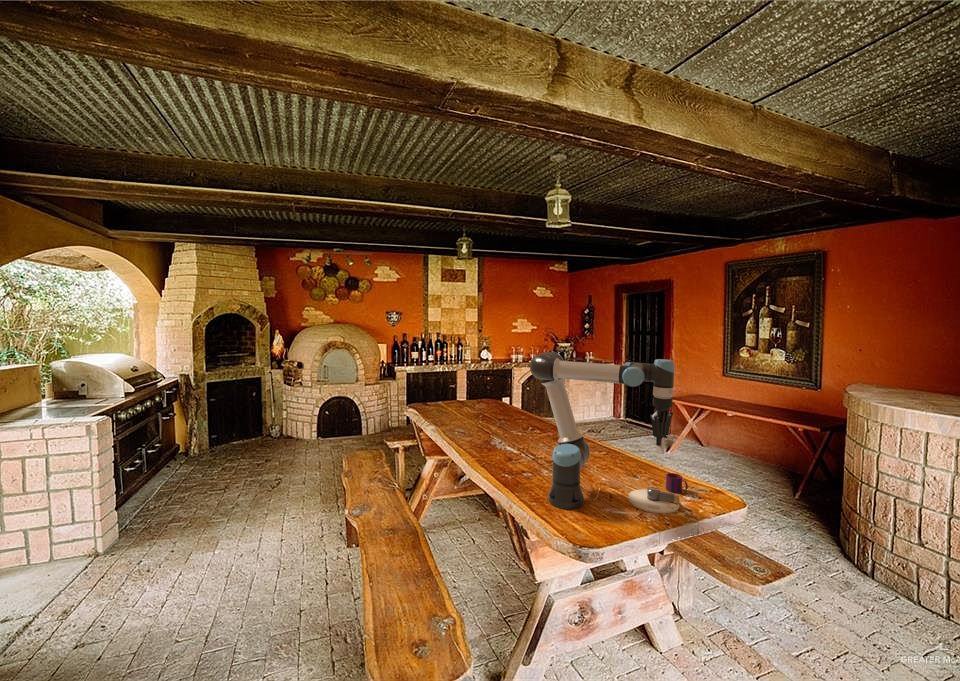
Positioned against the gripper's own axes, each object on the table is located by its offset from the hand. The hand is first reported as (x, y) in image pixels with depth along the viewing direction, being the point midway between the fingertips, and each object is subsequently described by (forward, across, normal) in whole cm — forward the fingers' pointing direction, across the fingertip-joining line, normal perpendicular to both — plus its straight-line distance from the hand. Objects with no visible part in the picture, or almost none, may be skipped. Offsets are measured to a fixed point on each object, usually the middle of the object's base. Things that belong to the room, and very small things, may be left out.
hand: (659, 452), depth 174 cm
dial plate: (+23, +2, +3) cm, 23 cm away
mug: (+23, +21, +4) cm, 31 cm away
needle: (+21, +4, 0) cm, 21 cm away
